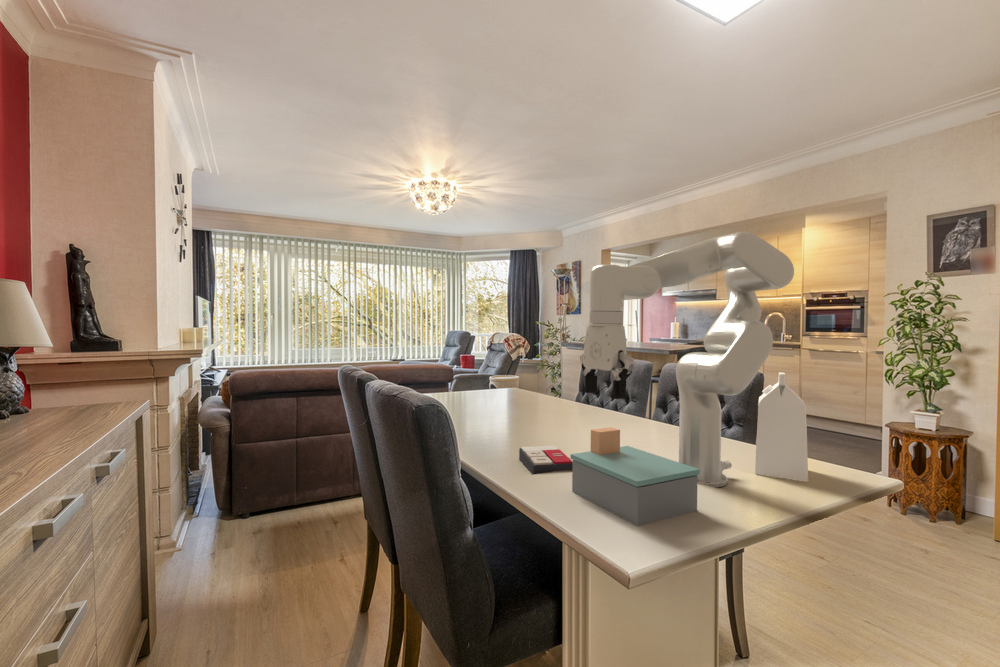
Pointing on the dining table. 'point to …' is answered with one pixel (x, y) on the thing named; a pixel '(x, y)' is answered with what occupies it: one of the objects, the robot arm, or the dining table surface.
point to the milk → (781, 433)
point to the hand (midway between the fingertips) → (604, 395)
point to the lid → (629, 461)
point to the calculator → (544, 459)
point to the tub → (635, 495)
